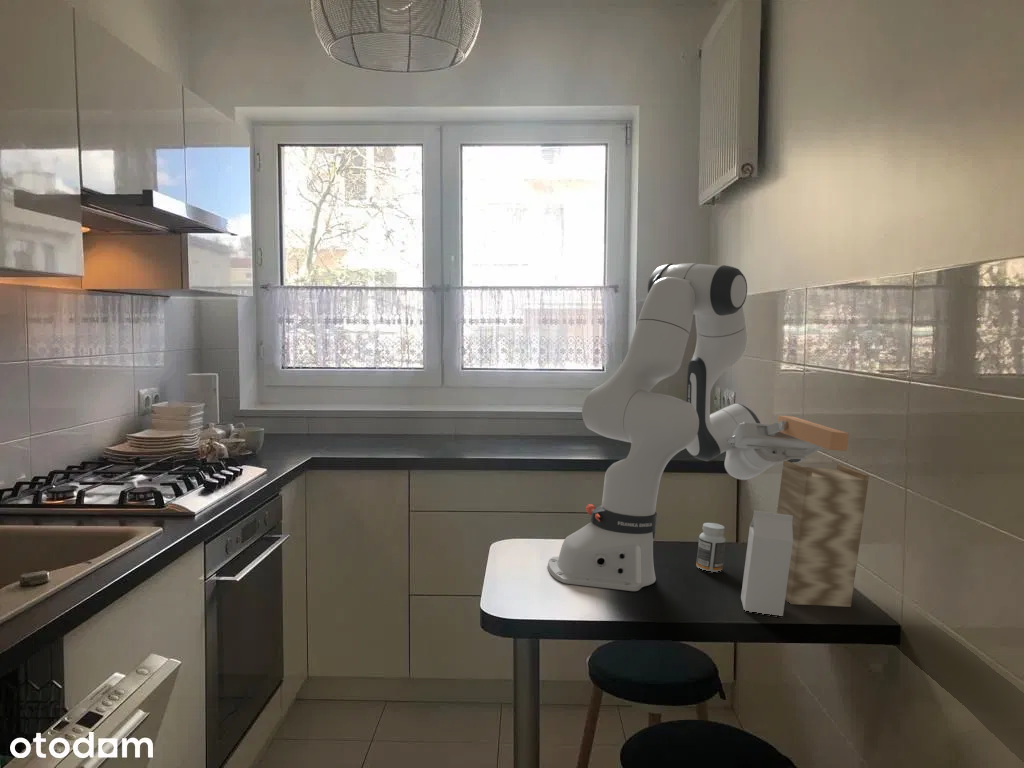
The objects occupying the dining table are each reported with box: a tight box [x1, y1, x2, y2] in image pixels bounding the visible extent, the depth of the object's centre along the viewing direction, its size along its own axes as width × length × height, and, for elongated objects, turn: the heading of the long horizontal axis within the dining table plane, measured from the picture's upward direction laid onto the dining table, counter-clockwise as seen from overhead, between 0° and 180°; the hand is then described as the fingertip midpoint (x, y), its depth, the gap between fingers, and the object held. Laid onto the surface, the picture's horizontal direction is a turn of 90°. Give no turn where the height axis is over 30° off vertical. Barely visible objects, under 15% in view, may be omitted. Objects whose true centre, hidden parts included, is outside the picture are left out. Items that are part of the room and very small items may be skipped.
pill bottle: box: [695, 522, 727, 573], centre depth 170 cm, size 6×6×10 cm
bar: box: [777, 414, 850, 452], centre depth 159 cm, size 4×22×4 cm, turn 7°
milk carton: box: [740, 510, 793, 617], centre depth 148 cm, size 7×7×19 cm
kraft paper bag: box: [776, 461, 870, 608], centre depth 157 cm, size 13×10×27 cm
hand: (795, 424), depth 165 cm, fingers closed on bar, 3 cm apart
